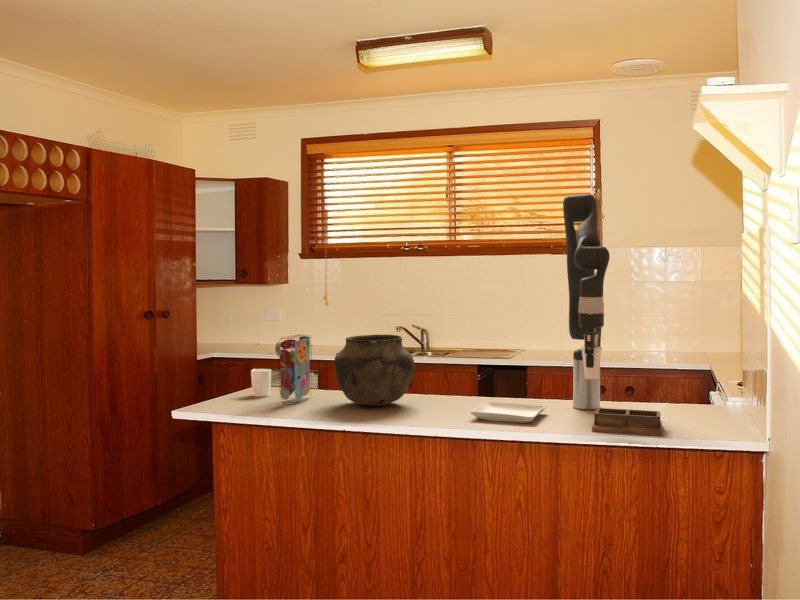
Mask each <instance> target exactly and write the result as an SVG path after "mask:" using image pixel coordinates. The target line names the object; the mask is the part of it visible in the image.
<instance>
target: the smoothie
mask: <svg viewBox="0 0 800 600" xmlns="http://www.w3.org/2000/svg"><path fill="white" fill-rule="evenodd" d="M580 349H581V350H582V356H583V364H584V372H585V378H586V379H597V378H598V371H599V363H600V364H601V352H602V351H603V347H602V346H596V348H594V367H593V368H588V367H586V354H585V346H584V345H583V346H581V347H580ZM588 350H592V348H588Z"/></svg>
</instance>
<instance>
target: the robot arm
mask: <svg viewBox="0 0 800 600" xmlns="http://www.w3.org/2000/svg"><path fill="white" fill-rule="evenodd" d="M562 213H563V219H564V220H563V221H564V230H565V231H564V232H565V240H566V241H565V242H566V274H567V285H568V303H569V304H568V331H569V335H570V338H571V339H573V340H579V341H580V340H582V341H583V340H584V345H583V346H585V354H586V367H588V368H593V367H594V348H596V346H600V347H602V346H601V339H602V329H603V327H604V325H605V302H604V283H605V282H604V280H605V276H606V272H607V269H608V266H609V263H610V258H611V257H610V252H609V250H608V248H606V247H605V246H601V240H600V236H599V229H598V228H599V227H598V223H599V222H598V221H599V219H598V218H599V217H598V216H599V215H598V214H599V213H598V204H597V200H596V197H595V196H594V194H592V193H591V194H590V193H585V194H584V193H583V194H572V195H567V196H565V197H564V198H563V202H562ZM574 223H581V224H580V225H579V226H578V227H577V230H576V228H575V224H574ZM595 271H596V272H595ZM588 348H592V350H588ZM572 355H573V357H572V358H573V362H572V363H573V367H572V369H573V374H572V375H573V376H572V377H573V378H572V379H573V380H572V383H573V384H572V388H573V389H572V393H573V394H572V407H573V409H574V408H575V409H576V410H577V409H578V410H579V409H580V410H596V409H597V408H601V407H600V406H601V362H600V363H599V371H598V378H597V379H586V378H585V372H584V364H583V356H582V350H581V348H579V349H576V350H574V351H573V354H572Z"/></svg>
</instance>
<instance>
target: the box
mask: <svg viewBox="0 0 800 600" xmlns="http://www.w3.org/2000/svg"><path fill="white" fill-rule="evenodd" d="M281 340H282V341H281ZM290 349H291V350H290ZM274 350H275V353H276V355H277V357H278V368H280V369H279V371H278V372H279V379H280V381H279V385H278V386H279V396H280V397H279V399H280V402H281V405H285V402H283V401H282V400H284V401H285V400H286V401H287V400H288V402H291V401H292V400H294V402H295V399H297V400H298V399H300V400H298V402H295V403H294V404H292V406H293V405H297V404H300V403H302V402H305V401H307V400H308V399H310V398H308V397H304V396H308V395H309V396H310V395H311V396H310V397H312V393H310V391H311V384H313V377H312V375H313V374H311V371H313V370H312V358H313V356H312V349H311V336H310V335H307V334H294V335H290V336H284V337H280V340H278V342H276V343H275V347H274ZM310 359H311V361H310ZM292 362H293V363H294V366H293V365H292V364H293V363H292ZM280 365H281V366H283V367H280ZM309 393H310V394H309ZM292 395H293V399H292ZM290 396H291V397H290ZM302 398H304V401H301V399H302ZM289 399H290V400H289ZM299 401H300V402H299ZM286 406H289V404H287V403H286Z"/></svg>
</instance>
